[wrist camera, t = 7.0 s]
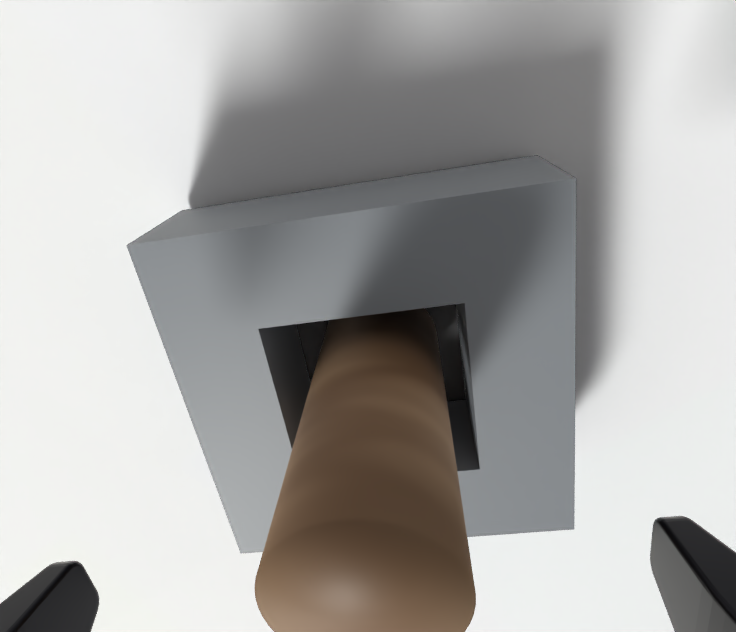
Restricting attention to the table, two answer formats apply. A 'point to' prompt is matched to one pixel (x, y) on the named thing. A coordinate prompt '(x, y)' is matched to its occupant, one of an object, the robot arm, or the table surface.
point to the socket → (375, 296)
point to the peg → (371, 492)
